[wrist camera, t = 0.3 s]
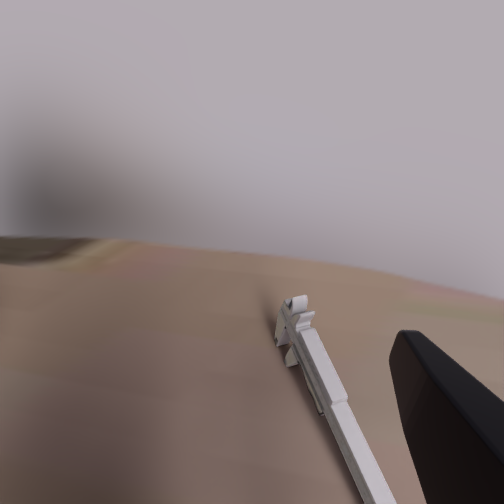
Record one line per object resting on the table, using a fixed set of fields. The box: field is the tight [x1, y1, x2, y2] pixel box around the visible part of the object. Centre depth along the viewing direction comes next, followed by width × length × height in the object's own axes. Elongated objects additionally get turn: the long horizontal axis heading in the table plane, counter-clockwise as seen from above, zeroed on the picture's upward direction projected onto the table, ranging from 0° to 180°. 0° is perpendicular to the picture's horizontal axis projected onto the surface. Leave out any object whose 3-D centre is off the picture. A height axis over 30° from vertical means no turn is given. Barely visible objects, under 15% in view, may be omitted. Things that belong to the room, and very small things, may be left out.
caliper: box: [274, 295, 397, 504], centre depth 20 cm, size 20×1×6 cm, turn 21°
